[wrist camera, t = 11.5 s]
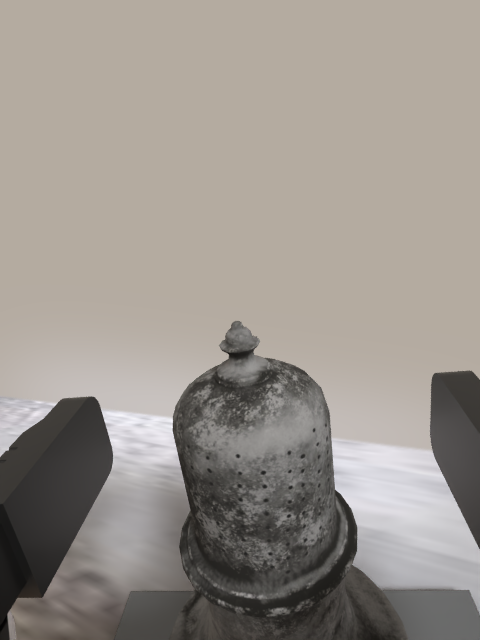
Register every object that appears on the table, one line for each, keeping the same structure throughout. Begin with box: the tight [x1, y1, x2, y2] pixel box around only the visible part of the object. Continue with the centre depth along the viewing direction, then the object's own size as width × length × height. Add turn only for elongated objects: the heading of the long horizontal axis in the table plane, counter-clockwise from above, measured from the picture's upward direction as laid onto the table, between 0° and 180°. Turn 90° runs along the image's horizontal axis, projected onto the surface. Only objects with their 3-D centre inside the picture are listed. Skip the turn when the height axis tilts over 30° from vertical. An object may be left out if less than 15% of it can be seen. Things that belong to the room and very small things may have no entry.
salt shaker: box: [169, 321, 409, 640], centre depth 9 cm, size 6×6×12 cm
